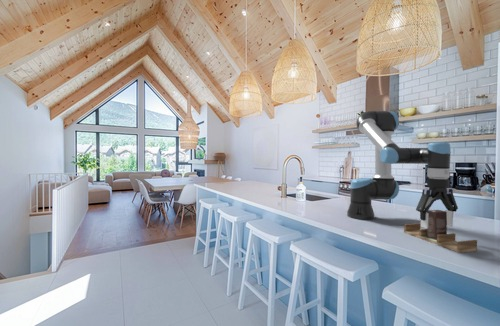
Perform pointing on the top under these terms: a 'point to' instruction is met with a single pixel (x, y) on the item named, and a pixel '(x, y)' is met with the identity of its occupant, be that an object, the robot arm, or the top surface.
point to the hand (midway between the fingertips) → (436, 226)
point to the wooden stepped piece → (441, 239)
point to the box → (436, 223)
